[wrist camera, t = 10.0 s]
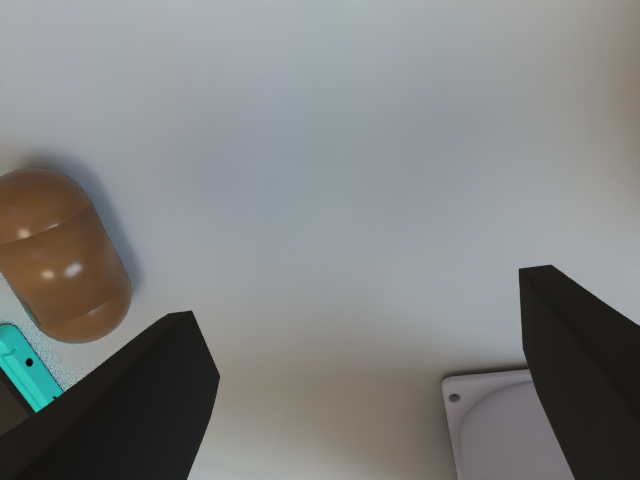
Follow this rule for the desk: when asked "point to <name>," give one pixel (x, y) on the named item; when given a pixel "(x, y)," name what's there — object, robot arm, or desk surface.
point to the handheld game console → (21, 380)
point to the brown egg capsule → (60, 257)
